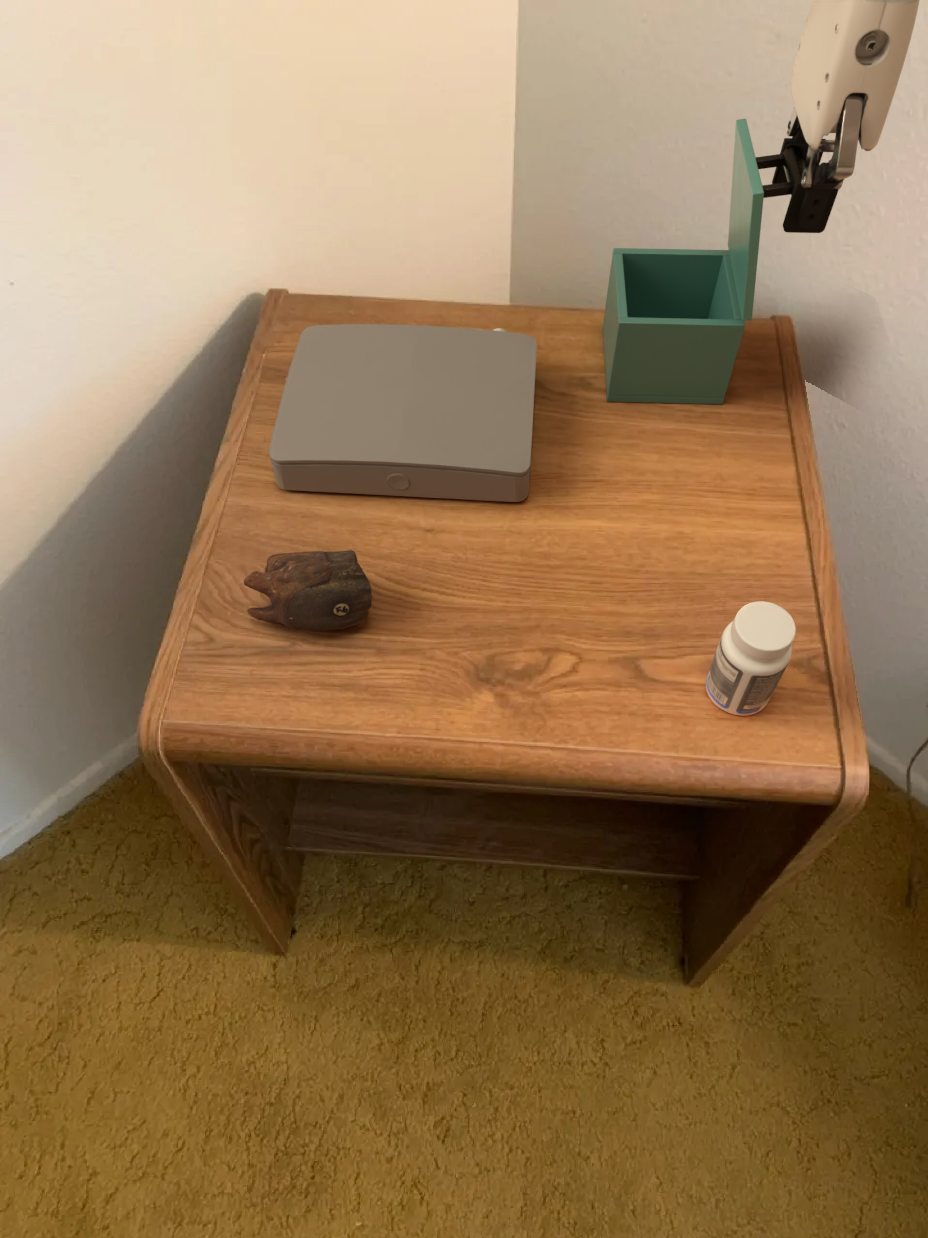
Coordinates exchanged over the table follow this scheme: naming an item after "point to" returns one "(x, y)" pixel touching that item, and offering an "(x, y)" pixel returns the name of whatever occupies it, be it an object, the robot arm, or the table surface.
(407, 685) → the table surface
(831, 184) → the robot arm
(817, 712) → the table surface
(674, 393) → the green box
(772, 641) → the pill bottle
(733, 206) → the lid
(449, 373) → the electronic device
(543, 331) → the table surface
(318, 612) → the dark brown rock
